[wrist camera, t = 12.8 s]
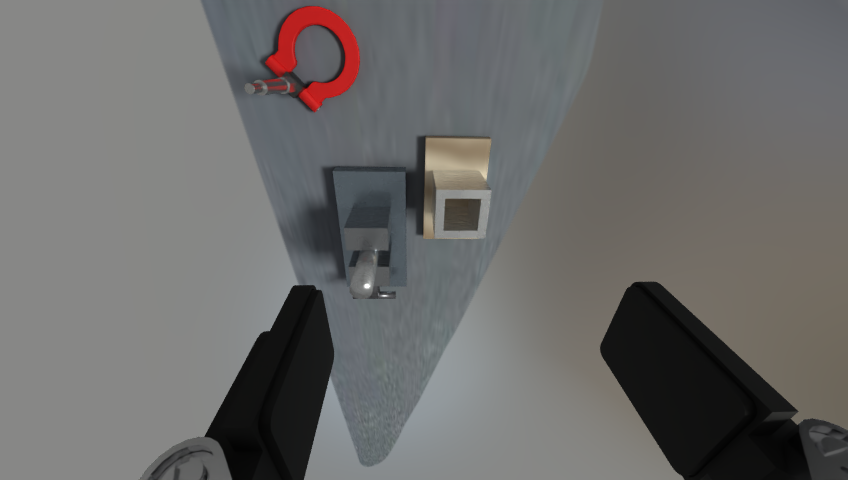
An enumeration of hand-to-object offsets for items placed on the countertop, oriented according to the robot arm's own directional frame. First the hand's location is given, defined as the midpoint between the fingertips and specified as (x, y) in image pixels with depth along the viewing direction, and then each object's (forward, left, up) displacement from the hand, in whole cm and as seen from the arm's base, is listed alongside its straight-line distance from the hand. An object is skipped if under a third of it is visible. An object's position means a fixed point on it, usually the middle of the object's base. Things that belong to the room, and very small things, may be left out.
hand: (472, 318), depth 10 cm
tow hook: (-7, -12, -33) cm, 36 cm away
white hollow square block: (+8, +4, -31) cm, 32 cm away
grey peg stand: (+14, -7, -33) cm, 36 cm away
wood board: (+8, +4, -33) cm, 34 cm away
